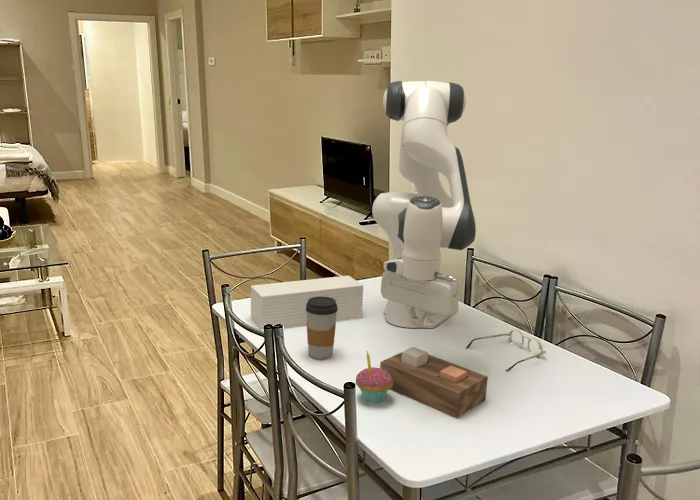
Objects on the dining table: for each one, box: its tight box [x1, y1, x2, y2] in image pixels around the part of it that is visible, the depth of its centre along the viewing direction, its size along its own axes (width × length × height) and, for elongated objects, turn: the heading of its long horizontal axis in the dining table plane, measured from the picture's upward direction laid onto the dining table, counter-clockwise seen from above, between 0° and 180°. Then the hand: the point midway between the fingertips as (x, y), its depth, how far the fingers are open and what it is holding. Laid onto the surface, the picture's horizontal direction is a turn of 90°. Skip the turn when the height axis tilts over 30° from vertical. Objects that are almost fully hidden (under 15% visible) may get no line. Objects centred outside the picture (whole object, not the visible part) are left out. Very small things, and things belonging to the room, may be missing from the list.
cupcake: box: [355, 350, 393, 404], centre depth 147 cm, size 9×8×12 cm
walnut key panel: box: [379, 351, 489, 419], centre depth 152 cm, size 12×22×6 cm, turn 47°
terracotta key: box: [439, 366, 467, 384], centre depth 148 cm, size 4×4×4 cm
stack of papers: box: [250, 275, 364, 330], centre depth 196 cm, size 32×11×11 cm, turn 115°
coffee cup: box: [306, 297, 338, 360], centre depth 169 cm, size 8×8×15 cm
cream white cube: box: [401, 346, 429, 368], centre depth 155 cm, size 4×4×4 cm
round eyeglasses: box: [465, 329, 547, 372], centre depth 175 cm, size 17×15×5 cm
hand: (416, 325), depth 152 cm, fingers closed
